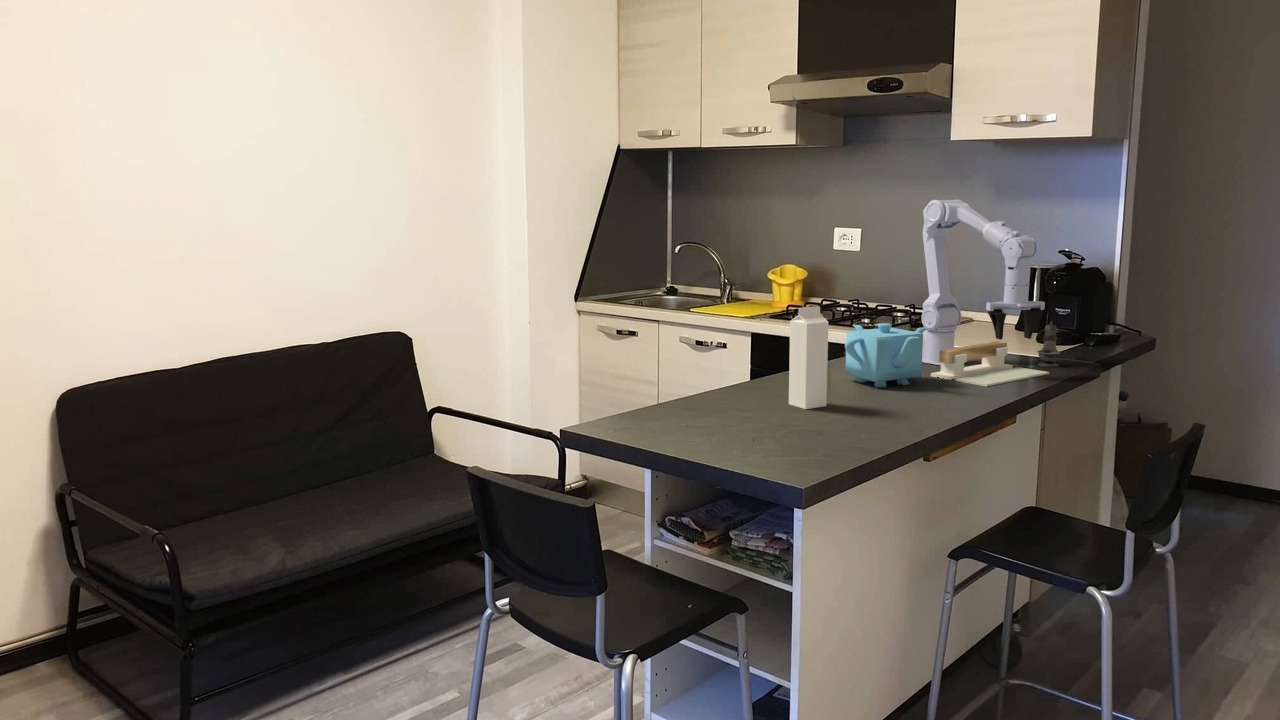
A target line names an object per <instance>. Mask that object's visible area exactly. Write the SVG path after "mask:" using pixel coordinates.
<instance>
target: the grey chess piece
mask: <svg viewBox="0 0 1280 720" xmlns="http://www.w3.org/2000/svg"><path fill="white" fill-rule="evenodd" d="M1042 339H1043V346H1042V349H1040V350H1037V353H1038V356H1039V357H1038V358H1039V359H1040V360H1041V361H1040V362H1039V363H1037V365H1038V366H1040V367H1047V368H1057V367H1059V366H1060V364H1058V363H1057V362H1056V361H1058V360H1059V358H1060V355H1061V354H1062V352H1061V351H1060V350H1058V349H1057V340H1058V337H1057V326H1056V325H1055V324H1053V321H1052V320H1051V321H1050V322H1049V323H1048V324H1046V325H1045V327H1044V336H1043V337H1042Z"/></svg>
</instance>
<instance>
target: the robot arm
mask: <svg viewBox="0 0 1280 720" xmlns="http://www.w3.org/2000/svg"><path fill="white" fill-rule="evenodd" d="M922 214H923V228H922V240H923V250H924V258H925V259H924V261H925V269H926V279H927V288H928V297H927V299H925V301H924V302H923V303H922V313H921V323H922V326H923V327H929V328H928V329H926V330H925V331H924V332H923V352H922V363H924V364H930V365H931V364H932V365H937V366H941V362H939V361H938V357H939V350H945V349H951V348H955V332H956V331H957V328H958V326H959V325H960V324H961V322H962V316H963V315H962V311H961V309H960V307H959V304H958V300H957V299H956V297H954V295H952V294H951V288H950V279H949V269H948V259H947V251H946V242H945V237H946V235H947V234H948V233H949V231H950V230H951V229H953V228H954V227H956V226H957V225H959V224H960V223H962V224H965V225H967V227H968V226H969V227H971V228H972V229H974V230H976V231H977V232H979V233H981V234H982V235H983V236H982V237H983V240H984V242H986V243H988V244H990V245H991V246H993V247H994V248H996V249H998V250H999V251H1001V253H1002V256H1003V257H1004V265H1005V273H1004V277H1005V278H1004V293H1003V300H1001V301H992V302H989V301H987V302H986V306H985V307H986V308H985V310H986V311H987V313H988V316H989V317H990V319H991V320H990V321H991V323H992V325H993V330H994V335H995V339H997V340H1003V337H1004V326H1005V320H1006V318H1007V315H1008V314H1007V313H1005V312H1004V311H1023V318H1024V319H1023V320H1024V326H1023V327H1024V329H1023V335H1024V338H1025V339H1028V340H1030V339H1032V336H1033V332H1034V330H1035V328H1036V325H1038V324H1037V323H1038V321H1040V319H1041V317H1042V316H1043V314H1044V313H1043V311H1044V310H1045V306H1046V305H1045V304H1046V302H1045V301H1042V300H1041V301H1040V300H1038V301H1035V300H1034V301H1032V300H1031V301H1030V300H1029V290H1030V278H1031V265H1032V264H1031V263H1032V258H1033V257H1034V256H1035V255H1036V253H1037V250H1038V249H1037V248H1038V245H1037V242H1036V240H1035V239H1034V238H1033V237H1032V236H1031V235H1021V234H1020V233H1021V232H1020V231H1019V230H1013V229H1012V228H1011V227H1008V226H1007V223H1006V222H1005V221H1004V220H1003V221H1002V220H1000V221H998V220H996V221H990V220H989V219H987V218H986V217H984V216H983V215H982V214H980V213H979V212H977V210H975V209H974V208H972V207H970V205H969V203H967V202H964V201H963V200H961V199H959V198H958V199H948V200H947V199H945V200H944V199H941V200H939V199H933V200H931V201H929V203H928V204H926V206H925V208H924V209H923V210H922Z"/></svg>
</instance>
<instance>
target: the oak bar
mask: <svg viewBox="0 0 1280 720" xmlns="http://www.w3.org/2000/svg"><path fill="white" fill-rule="evenodd" d="M1003 347H1008V342H1006V341H998V340H996V341H990V342H985V343H984V342H983V343H978V344H977V343H975V344H971V345H970V344H969V345H964V346H958V347H954V348H951V349H945V350H939V362H942V363H948V364H950V363H954V355H960V354H967V361H973V360H977V359H978V360H979V359H982V358H984V357H990V356H995V354H996V348H1003Z"/></svg>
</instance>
